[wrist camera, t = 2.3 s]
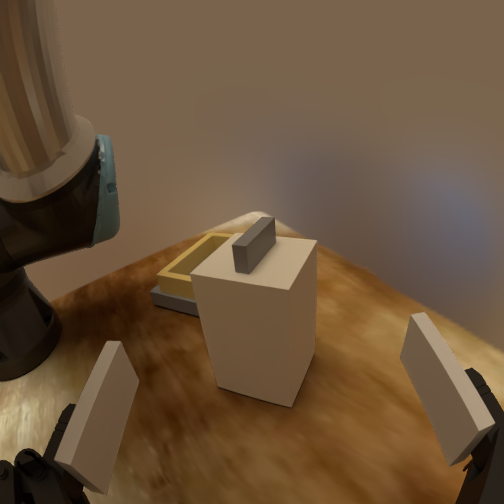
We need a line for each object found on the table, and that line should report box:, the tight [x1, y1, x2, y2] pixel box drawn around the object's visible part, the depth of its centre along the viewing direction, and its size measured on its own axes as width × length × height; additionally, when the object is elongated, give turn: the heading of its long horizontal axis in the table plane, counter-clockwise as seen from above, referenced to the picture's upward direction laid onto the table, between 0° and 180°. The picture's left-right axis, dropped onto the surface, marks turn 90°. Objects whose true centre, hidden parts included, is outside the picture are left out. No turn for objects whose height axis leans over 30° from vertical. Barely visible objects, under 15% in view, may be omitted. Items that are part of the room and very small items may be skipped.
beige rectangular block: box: [190, 217, 317, 407], centre depth 24 cm, size 7×7×14 cm
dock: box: [150, 232, 234, 316], centre depth 40 cm, size 16×14×4 cm
